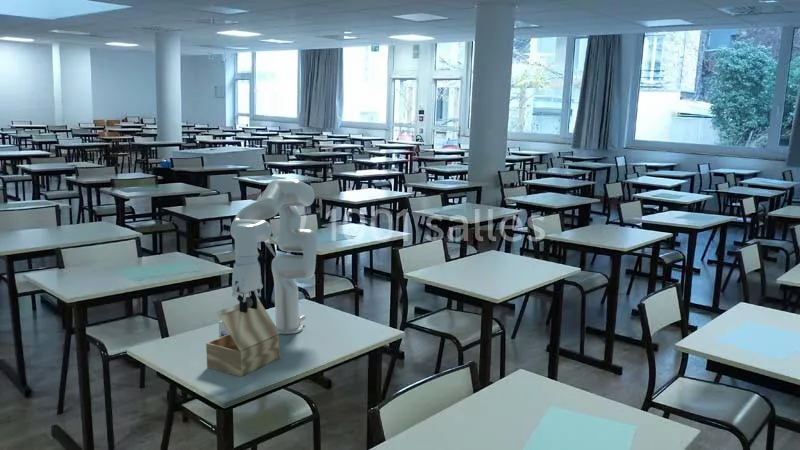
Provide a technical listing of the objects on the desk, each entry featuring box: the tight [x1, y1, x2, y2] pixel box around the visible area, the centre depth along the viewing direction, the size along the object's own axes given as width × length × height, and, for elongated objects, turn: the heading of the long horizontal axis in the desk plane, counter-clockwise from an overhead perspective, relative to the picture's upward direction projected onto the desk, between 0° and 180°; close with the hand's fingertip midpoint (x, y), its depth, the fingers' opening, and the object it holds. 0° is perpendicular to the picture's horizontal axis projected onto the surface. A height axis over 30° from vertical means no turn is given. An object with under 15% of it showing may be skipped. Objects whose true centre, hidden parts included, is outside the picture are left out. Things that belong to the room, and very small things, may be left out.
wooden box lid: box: [216, 296, 281, 351], centre depth 220 cm, size 20×16×7 cm
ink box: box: [218, 320, 229, 338], centre depth 239 cm, size 9×5×12 cm, turn 168°
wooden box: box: [205, 334, 281, 378], centre depth 225 cm, size 20×16×9 cm
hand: (248, 309), depth 220 cm, fingers closed on wooden box lid, 4 cm apart
